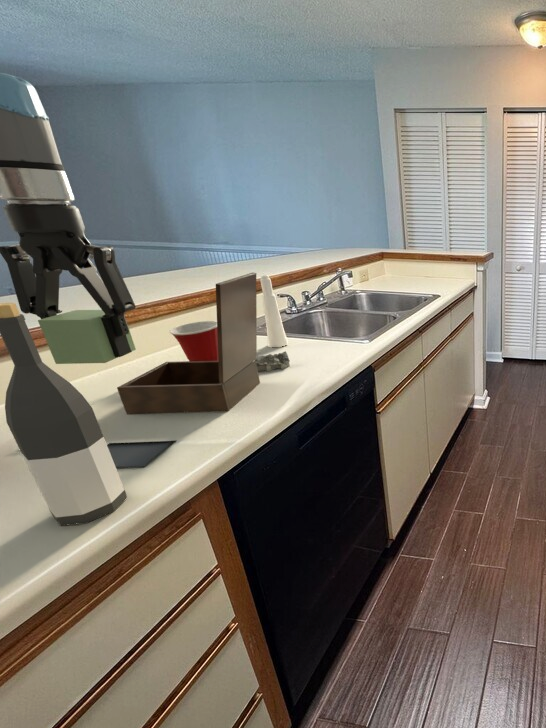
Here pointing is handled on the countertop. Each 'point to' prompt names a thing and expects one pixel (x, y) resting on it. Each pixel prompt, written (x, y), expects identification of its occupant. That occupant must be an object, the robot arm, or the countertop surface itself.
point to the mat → (136, 453)
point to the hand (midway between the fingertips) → (97, 354)
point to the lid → (236, 324)
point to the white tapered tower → (272, 315)
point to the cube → (79, 337)
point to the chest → (186, 388)
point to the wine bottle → (57, 432)
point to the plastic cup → (198, 340)
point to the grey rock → (272, 361)
